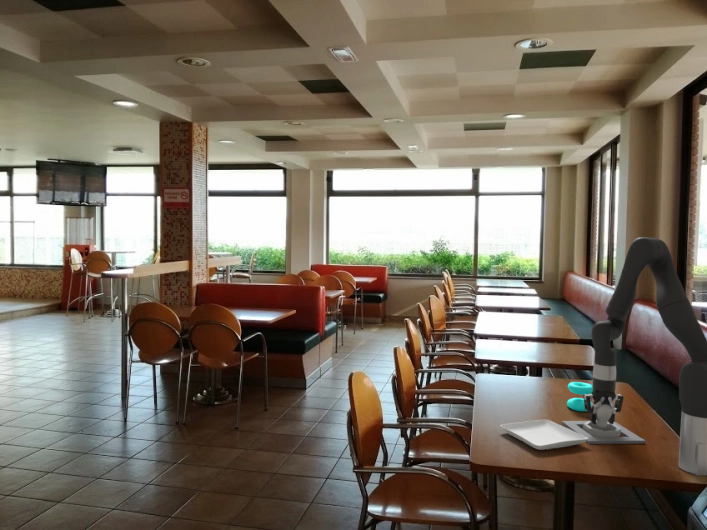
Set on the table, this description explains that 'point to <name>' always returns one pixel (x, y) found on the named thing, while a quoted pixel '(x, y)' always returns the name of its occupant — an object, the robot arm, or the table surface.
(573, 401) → the donuts
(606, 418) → the lightbulb
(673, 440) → the table surface
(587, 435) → the bulb socket stand
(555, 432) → the salad plate
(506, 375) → the table surface
